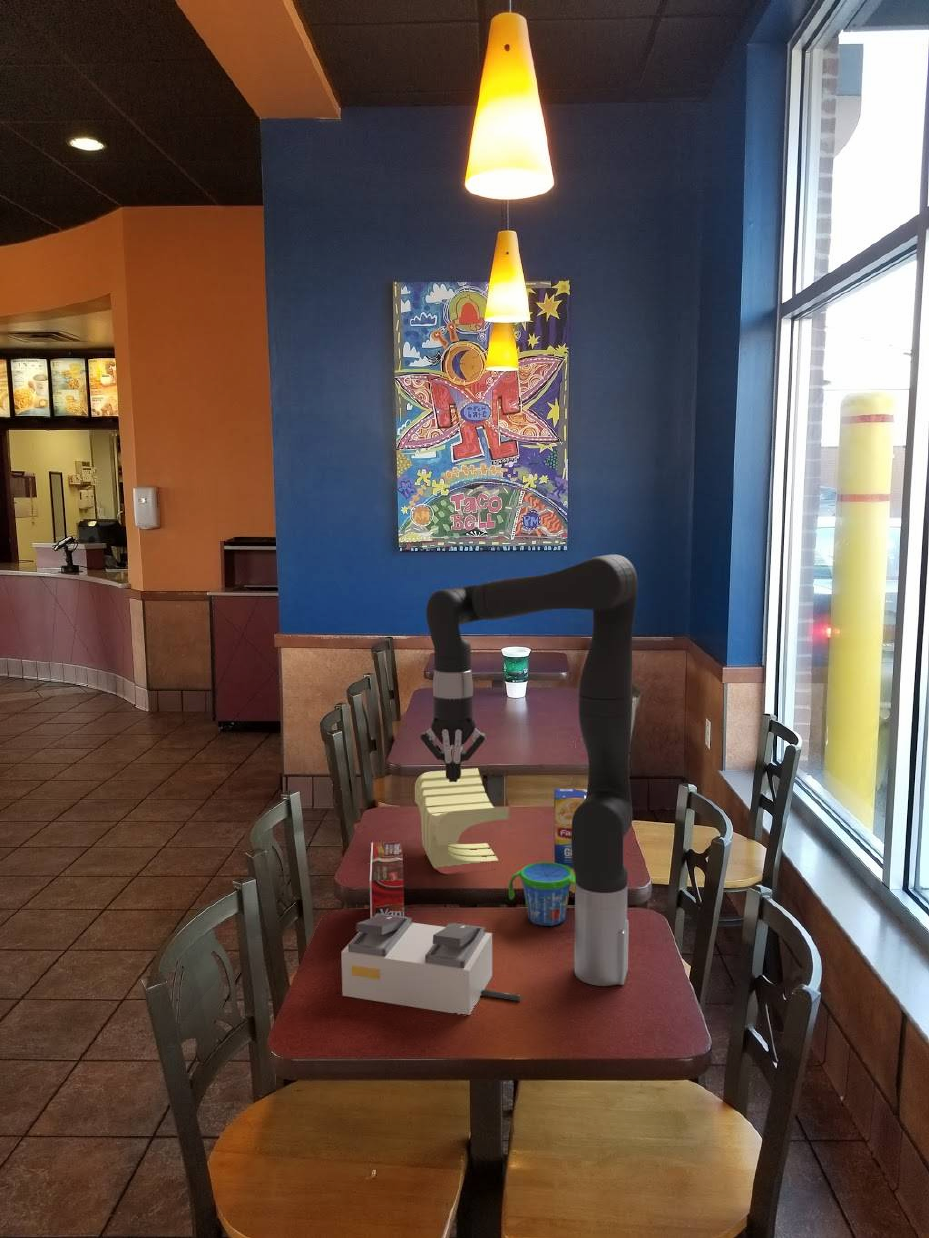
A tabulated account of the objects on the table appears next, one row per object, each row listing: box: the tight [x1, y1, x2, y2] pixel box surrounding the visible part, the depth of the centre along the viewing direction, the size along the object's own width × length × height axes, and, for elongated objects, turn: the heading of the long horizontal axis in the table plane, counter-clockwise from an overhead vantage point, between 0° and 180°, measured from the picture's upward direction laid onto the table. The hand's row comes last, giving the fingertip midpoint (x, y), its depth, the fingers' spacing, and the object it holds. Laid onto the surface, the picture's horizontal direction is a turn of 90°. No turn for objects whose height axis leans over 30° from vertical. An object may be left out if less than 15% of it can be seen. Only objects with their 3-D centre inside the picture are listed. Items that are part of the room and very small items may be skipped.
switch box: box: [340, 913, 522, 1016], centre depth 167 cm, size 30×14×9 cm, turn 73°
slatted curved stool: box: [414, 767, 510, 869], centre depth 224 cm, size 30×16×18 cm, turn 12°
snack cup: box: [508, 861, 575, 927], centre depth 194 cm, size 16×10×10 cm
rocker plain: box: [433, 923, 478, 947], centre depth 166 cm, size 5×11×2 cm, turn 163°
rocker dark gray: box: [355, 915, 404, 935], centre depth 170 cm, size 5×11×2 cm, turn 163°
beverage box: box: [553, 788, 587, 893], centre depth 206 cm, size 7×11×22 cm, turn 86°
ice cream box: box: [369, 841, 405, 919], centre depth 193 cm, size 20×6×13 cm, turn 5°
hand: (453, 780), depth 185 cm, fingers closed
